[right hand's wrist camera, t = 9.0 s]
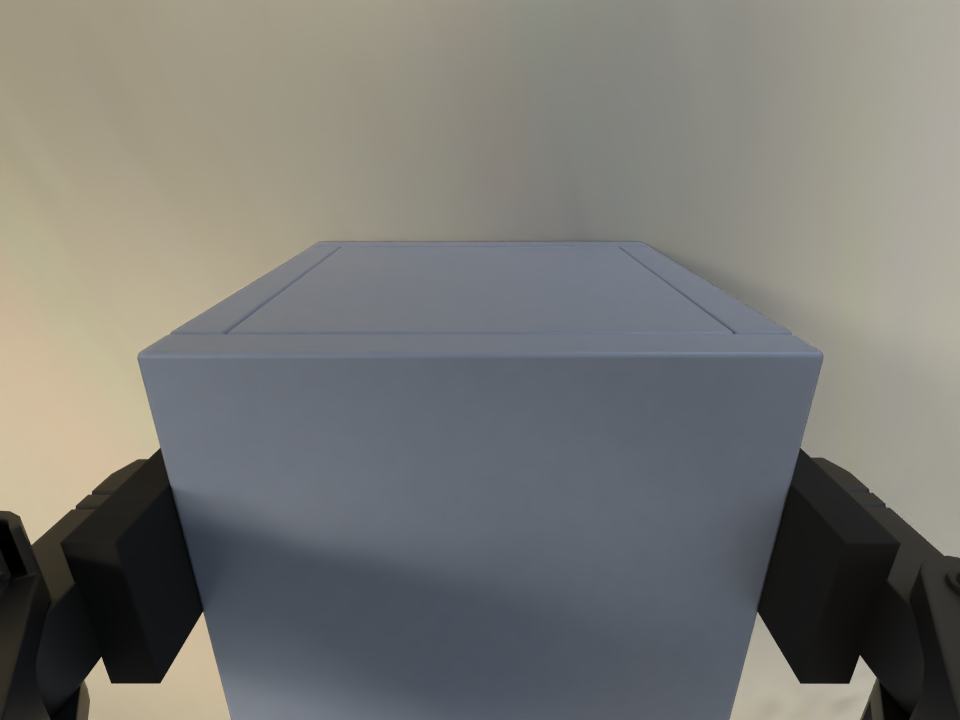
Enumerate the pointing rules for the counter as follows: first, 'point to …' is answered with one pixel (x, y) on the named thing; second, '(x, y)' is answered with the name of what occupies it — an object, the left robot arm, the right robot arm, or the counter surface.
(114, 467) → the counter surface
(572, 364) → the cabinet
